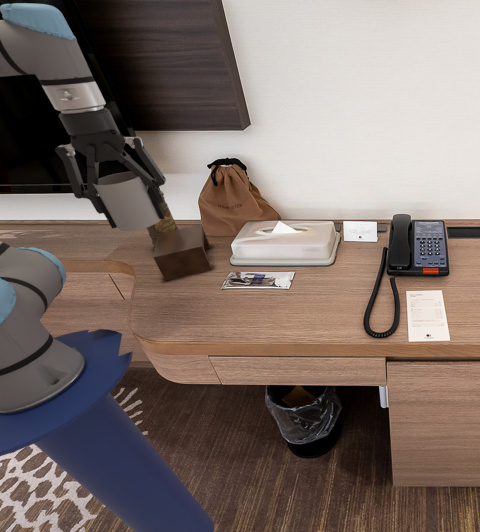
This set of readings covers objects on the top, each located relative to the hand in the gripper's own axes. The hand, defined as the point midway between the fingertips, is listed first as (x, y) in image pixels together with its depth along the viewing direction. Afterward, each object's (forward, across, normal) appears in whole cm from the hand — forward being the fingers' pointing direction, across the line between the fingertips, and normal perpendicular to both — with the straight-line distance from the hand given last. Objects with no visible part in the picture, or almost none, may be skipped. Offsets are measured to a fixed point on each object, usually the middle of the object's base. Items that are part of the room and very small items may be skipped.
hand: (139, 220), depth 75 cm
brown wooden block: (+23, +1, +21) cm, 32 cm away
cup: (+1, 0, 0) cm, 1 cm away
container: (+23, -6, +36) cm, 43 cm away
